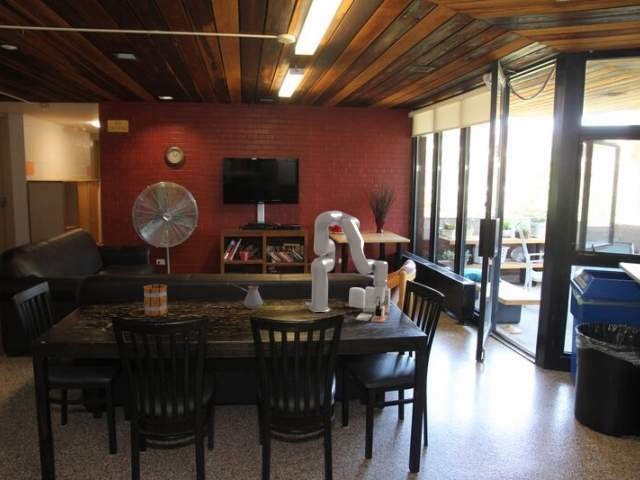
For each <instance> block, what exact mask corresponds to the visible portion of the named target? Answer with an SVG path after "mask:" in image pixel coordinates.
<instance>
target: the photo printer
mask: <svg viewBox="0 0 640 480" xmlns="http://www.w3.org/2000/svg"><path fill="white" fill-rule="evenodd" d="M348 294H349V295H348V307H349V308H356V309H363V310H364V309H365V289H364V288H362V287H354V286H353V287H350V288H349V293H348Z"/></svg>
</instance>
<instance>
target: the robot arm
mask: <svg viewBox="0 0 640 480" xmlns="http://www.w3.org/2000/svg"><path fill="white" fill-rule="evenodd" d="M331 226H337V227H340V228H341V231H342V233H343V235H344V237H345V240H346V241H347V243H348V246H349V248H350V254H351V258H352V262H353V264H354V266H355V268H356V270H357V271H358V273H360V275H364V276H365V275H368V274H371V273H373V287H375V289H374V300H373V303H374V304H375V303H376V309H375V316H381V306H383V302H384V300H385V288H387V287H388V274H389V273H388V269H389V265H388V262H387V261H385V260H375V259H371V258H368V259H367V258H366V255H365V254H364V243H365V240H364V238H363V236H362V235H361V232H360V230H359V229H360V227H361V222H360V220H359V219H358V217H355V216H352V215H351V214H350V215H349V214H347V213H345V212H342V211H339V210H329V211H328V210H327V211H324V212H322V213H320V214H319V215H318V216H317V217H316V218H315V221H314V237H313V241H314V242H313V251H314V253H315V255H317V256H319V257H317V258H315V259H314V260H313V261H312V262H311V265H310V272H311V301H310V302H307V301H305V302H304V306H306V307H308V311H309V310H311V311H314V312H313V313H315V312H325V313H329V312H330V311H331V308H330V307H328V306H329V305H328V300H329V277H328V272H331V271H332V270H333V269H334V267H335V263H336V245H335V242H334V241H333V239H331V238H329V237H330V230H329V227H331ZM311 311H310V312H311Z"/></svg>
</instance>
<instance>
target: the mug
mask: <svg viewBox="0 0 640 480" xmlns="http://www.w3.org/2000/svg"><path fill="white" fill-rule="evenodd" d="M167 291H168V285H166V284H160V283H159V284H157V283H156V284H148V285H143V297H144V298H143V305H144V312H143V315H146V316H162V315H166V314H168V294H167Z"/></svg>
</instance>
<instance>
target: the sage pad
mask: <svg viewBox="0 0 640 480" xmlns="http://www.w3.org/2000/svg"><path fill="white" fill-rule="evenodd" d="M373 317H374V314H371V313H362V312H360V313H359V314H358V315H357V317H356V318H355V320H357V321H365V322H369V320H371V319H372V318H373Z"/></svg>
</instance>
